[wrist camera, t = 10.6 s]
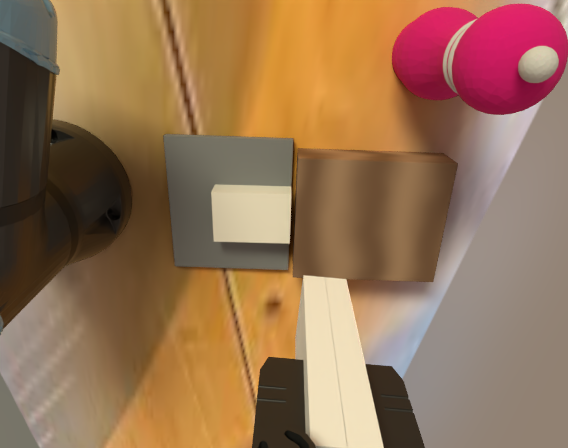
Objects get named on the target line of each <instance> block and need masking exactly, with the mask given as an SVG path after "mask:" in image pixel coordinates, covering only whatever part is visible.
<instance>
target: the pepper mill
mask: <svg viewBox="0 0 568 448" xmlns="http://www.w3.org/2000/svg"><path fill="white" fill-rule="evenodd" d="M567 57H568V39H567V35H566V31H565V29H564V28H563V26H562V24H561V22H560V21H559V20H558V19H557V18H556V17H555V16H554V15H553V14H551V13H550V12H549V11H547V10H545V9H543V8H541V7H538V6H534V5H530V4H509V5H505V6H502V7H498V8H496V9H494V10H492V11H489V12H487V13H485V14H484V15H483V16H481V17H480V18H477V17H476V16H475V15H474V14H472V13H470V12H468V11H467V10H463V9H460V8H453V7H441V8H437V9H433V10H431V11H428V12H426V13H424V14H423V15H421V16H420V17H418V18H417V19H416V20H415V21H413V22H412V23H410V24H409V25H407V26H406V27H405V28H404V29H403V30H402V32H401V33H400V34H399V36H398V37H397V39H396V41H395V44H394V47H393V52H392V64H393V68H394V71H395V73H396V75H397V77H398V78H399V79H400V80H401V81H402V83H403V84H404V85H405V87H406V88H407V89H408V90H409V91H410V92H412V93H413V94H414V95H416V96H418V97H421V98H424V99H429V100H445V99H450V98H453V97H456V96H458V95H459V96H460V97H461V98H462V100H463V101H464V102H466V103H467V104H468V105H469V106H471V107H473V108H474V109H476V110H478V111H481V112H484V113H487V114H495V115H504V114H512V113H516V112H519V111H523V110H525V109H527V108H529V107H531V106H533V105H535V104H537V103H538V102H539V101H541V100H542V99H543V98H545V97H546V96H547V95H548V94H549V93H550V92H551V91H552V90H553V88H554V87H555V86H556V84H557V83H558V81H559V80H560V78H561V76H562V74H563V72H564V69H565V66H566V62H567Z"/></svg>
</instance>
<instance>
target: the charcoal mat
mask: <svg viewBox="0 0 568 448" xmlns="http://www.w3.org/2000/svg"><path fill="white" fill-rule="evenodd" d="M163 137H164V148H165V159H166V170H167V182H168V193H169V204H170V215H171V227H172V238H173V249H174V260H175V266H184V267H214V268H244V269H274V270H288V257H289V244H288V243H250V242H214V237H213V218H212V198H211V192H212V190H213V188H214V186H215V184H218V185H256V186H291V183H292V158H293V138H267V137H238V136H208V135H178V134H165V135H164V136H163Z"/></svg>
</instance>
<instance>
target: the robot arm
mask: <svg viewBox="0 0 568 448" xmlns="http://www.w3.org/2000/svg"><path fill="white" fill-rule="evenodd" d="M56 57H57V15H56V11H55V9H54V6H53V4H52V3H51V1H50V0H0V335H1V332H2V331H3V329H4V328H5V327H6V326H7V325H8V324H9V323H10V322H11V321H12V320H13V319H14V317H15V316H16V315H17V314H18V313H19V312H20V311H21V310H22V309H23V308H24V307H25V306H26V305H27V304H28V303H29V302H30V301H31V300H32V299H33V298H34V297H35V296H36V295H37V294H38V293H39V292H40V291H41V290H42V289H43V288H44V287H45V286H46V285H47V284H48V283H49V282H50V281H51V280H52V279H53V278H54V277H55V276H56V275H57V274H58V273H59V272H60V271H61V270H62V269H63V268H64V267H65V266H67V265H70V264H72V263H75V262H78V261H81V260H83V259H86V258H89V257H92V256H94V255H96V254H98V253H100V252H101V251H103V250H104V249H105V248H107V247H108V246H109V245H110V244H111V243H112V242H113V241H114V240H115V239H116V238H117V237H118V235H119V234H120V233H121V232H122V231H123V229H124V228H125V226H126V224H127V222H128V219H129V216H130V212H131V206H132V195H131V188H130V184H129V180H128V178H127V175H126V173H125V170H124V169H123V167H122V165H121V163H120V162H119V160H118V159H117V157H116V156H115V155H114V153H113V152H112V151H111V150H110V149H109V148H108V147H107V146H106V145H105V144H104V143H103V142H102V141H101V140H99V139H98V138H97V137H95V136H94V135H93V134H91V133H90V132H88V131H86V130H84V129H82V128H80V127H78V126H76V125H73V124H70V123H67V122H63V121H59V120H52V119H53V108H54V96H55V84H56V75H59V72H60V69H59V66H58V65H57V64H56ZM295 339H296V359H287V358H275V357H268V359H267V360H266V362H265V363H264V365H263V366H262V368H261V369H260V376H259V386H258V395H257V405H256V415H255V424H254V434H253V444H252V448H425V447H424V443H423V440H422V437H421V434H420V431H419V428H418V425H417V422H416V419H415V415H414V413H413V409H412V406H411V403H410V400H408V394H407V391H406V388H405V384H404V382H403V380H402V378H401V377H400V376H399V375H398V374H397V372H396V371H395V370H394V369H393V367H392V366H381V365H370V364H365V361H364V357H363V352H362V348H361V343H360V339H359V334H358V330H357V325H356V321H355V316H354V312H353V307H352V303H351V298H350V293H349V289H348V284H347V280H346V279H339V278H328V277H317V276H306V275H303V283H302V291H301V299H300V306H299V314H298V322H297V330H296V338H295Z"/></svg>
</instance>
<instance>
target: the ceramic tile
mask: <svg viewBox="0 0 568 448" xmlns="http://www.w3.org/2000/svg"><path fill="white" fill-rule="evenodd" d="M211 198H212V218H213V237H214V242H250V243H288V244H290V222H291V186H256V185H218V184H215V186H214V188H213V190H212V192H211Z"/></svg>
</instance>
